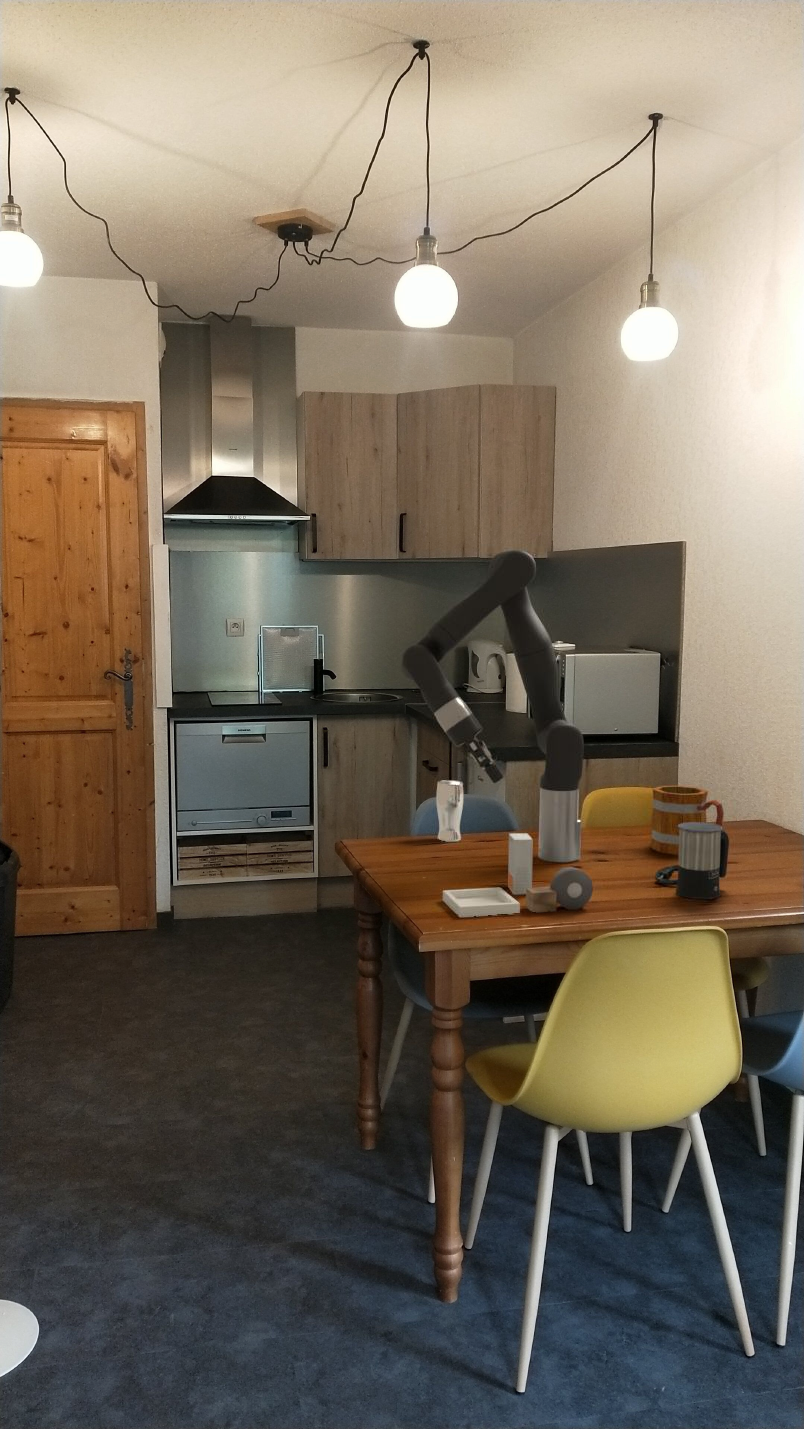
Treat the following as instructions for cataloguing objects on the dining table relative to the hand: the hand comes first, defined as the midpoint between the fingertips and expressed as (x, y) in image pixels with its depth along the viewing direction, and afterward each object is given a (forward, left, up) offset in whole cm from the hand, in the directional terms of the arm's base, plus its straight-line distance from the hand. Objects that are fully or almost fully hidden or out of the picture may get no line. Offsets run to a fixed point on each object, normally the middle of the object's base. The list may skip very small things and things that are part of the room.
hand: (499, 780), depth 247 cm
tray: (+12, +25, -21) cm, 35 cm away
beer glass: (+1, -36, -22) cm, 42 cm away
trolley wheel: (-6, +29, -21) cm, 36 cm away
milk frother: (-36, +21, -22) cm, 47 cm away
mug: (-54, -12, -22) cm, 59 cm away
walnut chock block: (0, +29, -21) cm, 36 cm away
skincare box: (0, +15, -22) cm, 26 cm away
